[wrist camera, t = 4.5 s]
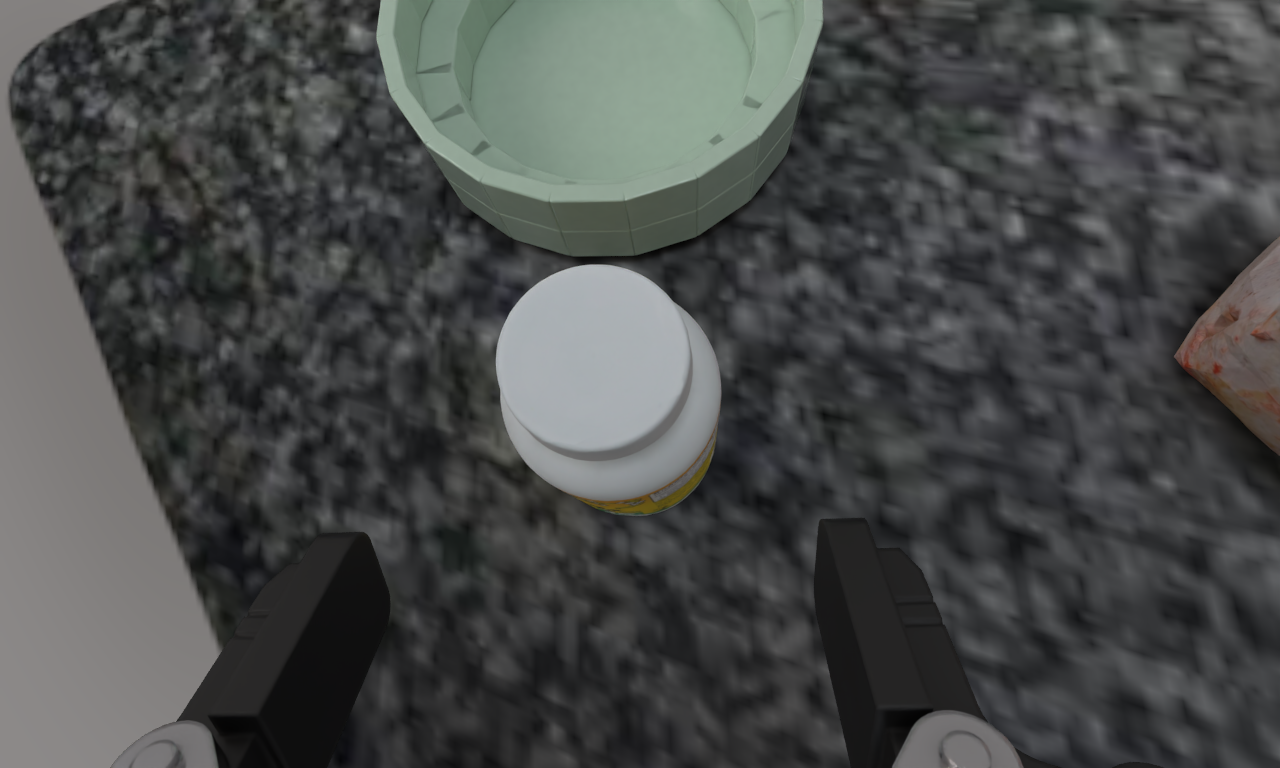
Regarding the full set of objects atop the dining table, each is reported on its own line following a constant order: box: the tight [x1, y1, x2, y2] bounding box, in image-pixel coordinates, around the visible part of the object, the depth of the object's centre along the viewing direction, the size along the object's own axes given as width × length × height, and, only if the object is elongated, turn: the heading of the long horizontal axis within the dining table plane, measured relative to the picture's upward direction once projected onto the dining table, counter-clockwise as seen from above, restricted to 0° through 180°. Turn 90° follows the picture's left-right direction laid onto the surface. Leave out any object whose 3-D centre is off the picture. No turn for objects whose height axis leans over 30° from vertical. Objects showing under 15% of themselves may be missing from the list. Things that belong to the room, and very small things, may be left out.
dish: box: [376, 0, 824, 256], centre depth 25 cm, size 14×14×4 cm
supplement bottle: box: [496, 265, 721, 516], centre depth 19 cm, size 5×5×10 cm
